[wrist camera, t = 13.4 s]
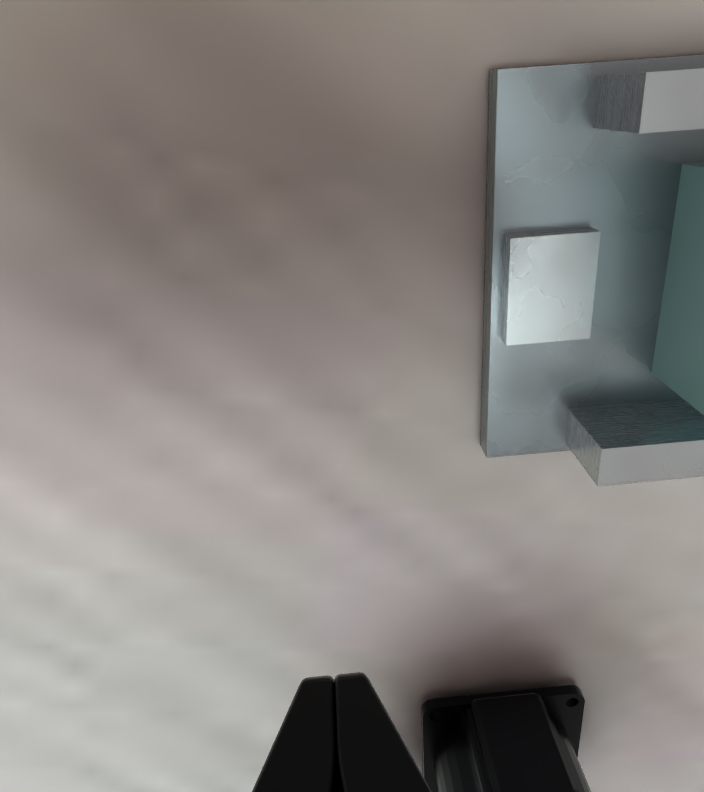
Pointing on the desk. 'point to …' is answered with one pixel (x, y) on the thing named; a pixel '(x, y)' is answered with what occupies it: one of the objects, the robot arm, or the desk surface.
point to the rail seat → (587, 263)
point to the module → (684, 295)
